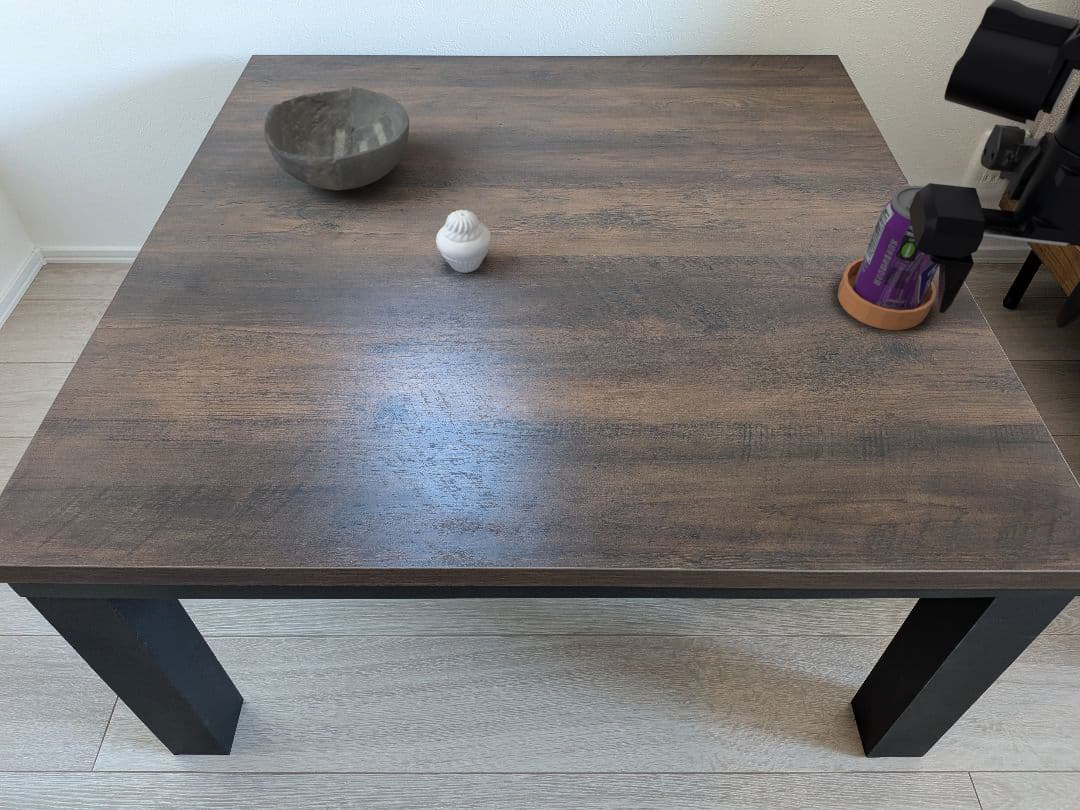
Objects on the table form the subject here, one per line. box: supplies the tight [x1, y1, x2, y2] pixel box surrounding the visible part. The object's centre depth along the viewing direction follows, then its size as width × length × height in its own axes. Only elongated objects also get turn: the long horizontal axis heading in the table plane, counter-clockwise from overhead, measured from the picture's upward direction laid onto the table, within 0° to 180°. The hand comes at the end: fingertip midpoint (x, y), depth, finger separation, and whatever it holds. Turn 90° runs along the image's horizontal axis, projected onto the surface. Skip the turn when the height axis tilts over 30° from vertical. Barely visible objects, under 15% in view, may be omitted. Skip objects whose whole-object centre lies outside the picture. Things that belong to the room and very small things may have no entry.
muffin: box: [435, 209, 492, 274], centre depth 87 cm, size 6×6×7 cm
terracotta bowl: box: [837, 256, 937, 331], centre depth 85 cm, size 9×9×2 cm
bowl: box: [263, 86, 410, 191], centre depth 99 cm, size 18×18×8 cm
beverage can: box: [853, 185, 939, 310], centre depth 81 cm, size 7×7×12 cm
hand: (999, 317), depth 64 cm, fingers open, 9 cm apart
